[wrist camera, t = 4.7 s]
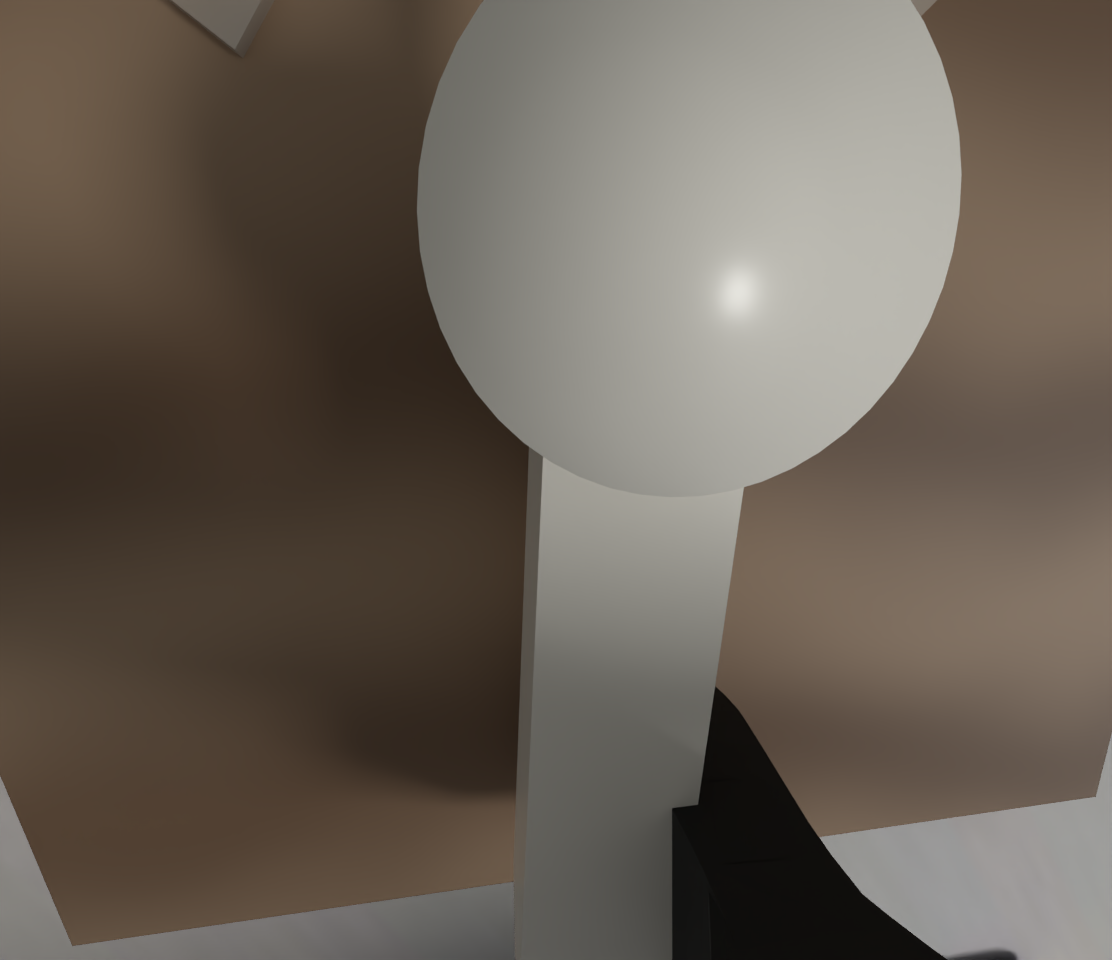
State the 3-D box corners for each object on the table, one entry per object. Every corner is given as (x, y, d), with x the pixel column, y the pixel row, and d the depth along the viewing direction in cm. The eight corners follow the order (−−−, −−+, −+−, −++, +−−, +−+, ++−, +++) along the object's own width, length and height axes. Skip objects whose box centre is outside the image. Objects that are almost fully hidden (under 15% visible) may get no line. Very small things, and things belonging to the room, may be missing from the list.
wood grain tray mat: (1038, 752, 12) (1106, 804, 11) (120, 879, 10) (62, 959, 9) (1253, -267, 7) (1418, -401, 6) (-318, -291, 6) (-559, -478, 5)
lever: (468, -290, 6) (389, -1682, 2) (786, -234, 6) (1294, -1283, 2) (462, 817, 9) (431, 1154, 5) (658, 809, 10) (760, 1118, 6)
